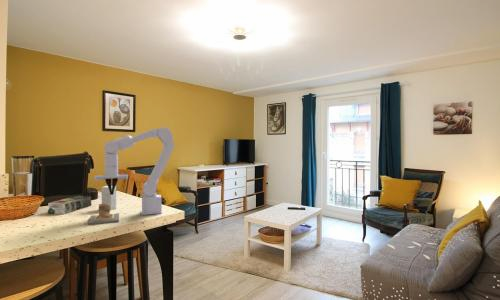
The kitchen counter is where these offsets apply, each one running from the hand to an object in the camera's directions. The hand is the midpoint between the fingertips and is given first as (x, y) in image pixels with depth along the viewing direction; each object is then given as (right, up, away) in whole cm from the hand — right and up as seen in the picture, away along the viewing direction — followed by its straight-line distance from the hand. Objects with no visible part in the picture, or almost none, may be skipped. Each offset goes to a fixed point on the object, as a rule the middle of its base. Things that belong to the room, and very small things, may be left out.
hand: (111, 194), depth 137 cm
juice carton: (-27, -10, +11) cm, 31 cm away
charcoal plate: (0, -11, -7) cm, 13 cm away
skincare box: (-8, -10, +13) cm, 19 cm away
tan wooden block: (0, -10, -7) cm, 12 cm away
